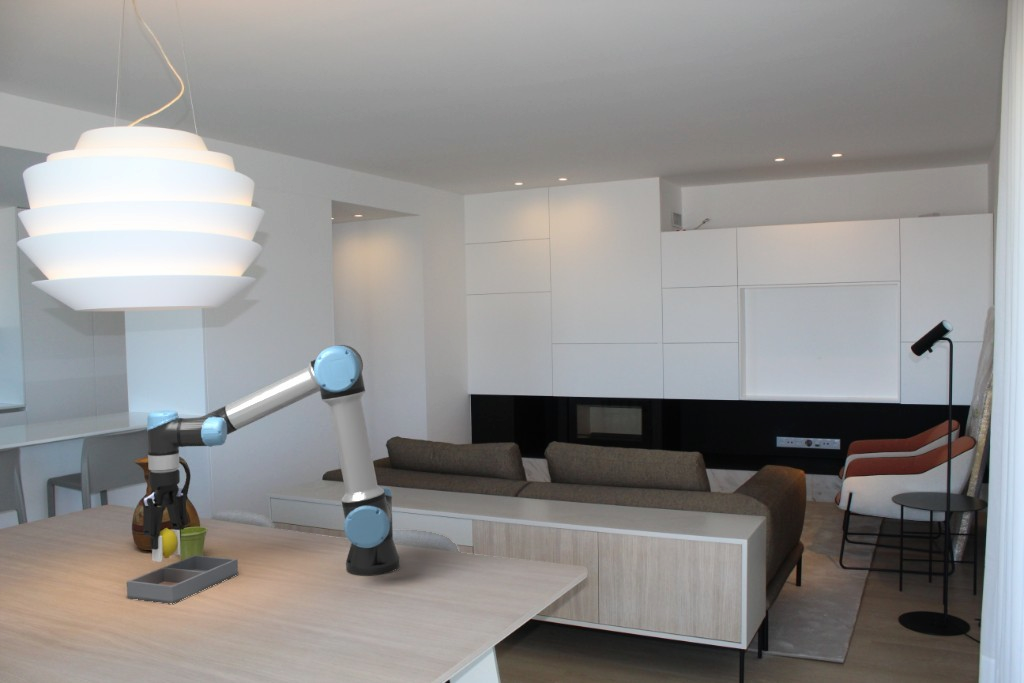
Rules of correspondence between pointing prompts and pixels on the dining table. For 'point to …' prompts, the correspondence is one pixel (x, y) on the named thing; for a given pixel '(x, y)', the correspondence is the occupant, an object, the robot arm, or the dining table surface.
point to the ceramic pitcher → (137, 521)
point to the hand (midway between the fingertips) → (166, 557)
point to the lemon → (168, 542)
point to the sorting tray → (181, 579)
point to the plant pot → (192, 541)
